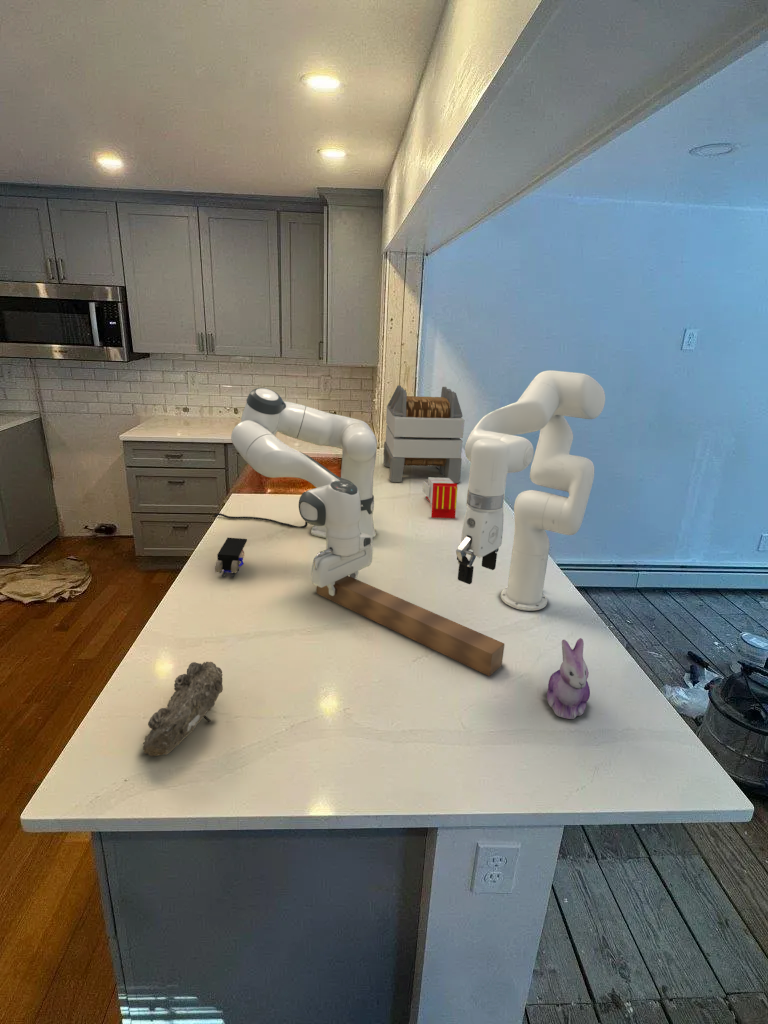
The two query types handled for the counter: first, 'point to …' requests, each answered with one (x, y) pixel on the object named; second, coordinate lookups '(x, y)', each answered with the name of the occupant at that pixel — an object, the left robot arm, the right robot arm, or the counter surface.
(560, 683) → the figurine
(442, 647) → the beam
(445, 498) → the toy
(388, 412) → the transformer
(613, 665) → the counter surface
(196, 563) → the counter surface
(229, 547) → the figurine character
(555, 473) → the right robot arm
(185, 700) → the fossil
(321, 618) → the counter surface
